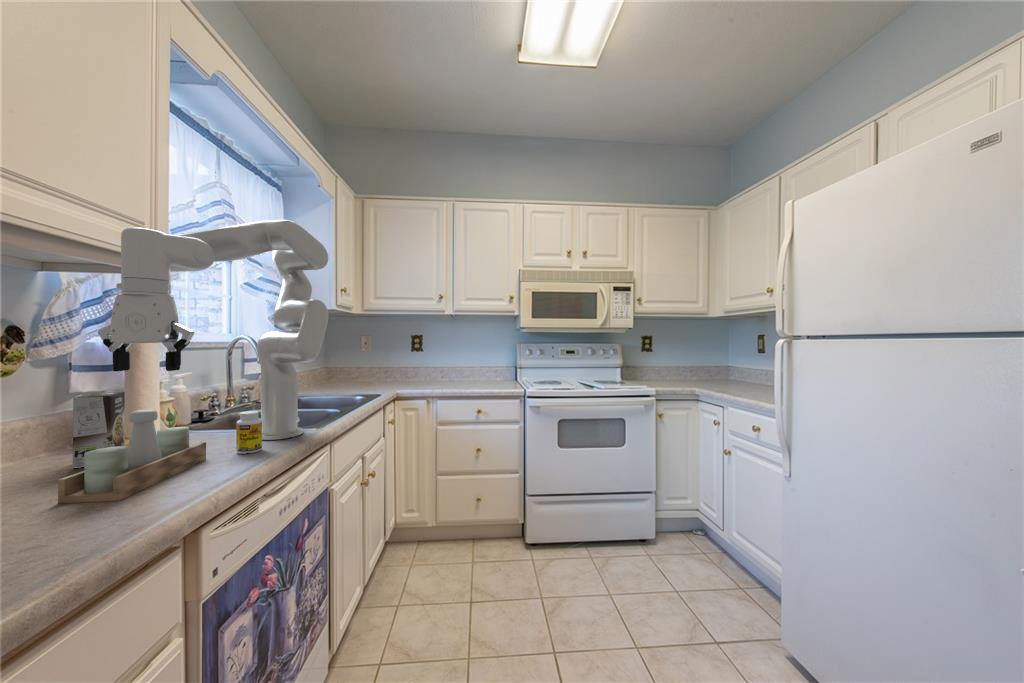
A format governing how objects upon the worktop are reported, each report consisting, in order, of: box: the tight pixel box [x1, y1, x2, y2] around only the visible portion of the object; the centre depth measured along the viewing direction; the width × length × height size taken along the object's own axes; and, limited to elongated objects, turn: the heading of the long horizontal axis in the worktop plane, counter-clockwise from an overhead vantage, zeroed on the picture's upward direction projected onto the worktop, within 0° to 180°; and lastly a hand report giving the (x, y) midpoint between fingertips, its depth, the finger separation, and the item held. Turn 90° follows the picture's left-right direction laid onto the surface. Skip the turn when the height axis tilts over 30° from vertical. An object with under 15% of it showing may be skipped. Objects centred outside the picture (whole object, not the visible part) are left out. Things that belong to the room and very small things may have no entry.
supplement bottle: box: [235, 410, 263, 455], centre depth 100 cm, size 6×6×10 cm
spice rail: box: [57, 426, 207, 504], centre depth 80 cm, size 24×10×8 cm, turn 8°
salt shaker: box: [127, 408, 162, 471], centre depth 81 cm, size 6×6×13 cm
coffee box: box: [72, 391, 126, 469], centre depth 91 cm, size 9×6×16 cm
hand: (147, 370), depth 81 cm, fingers open, 9 cm apart
